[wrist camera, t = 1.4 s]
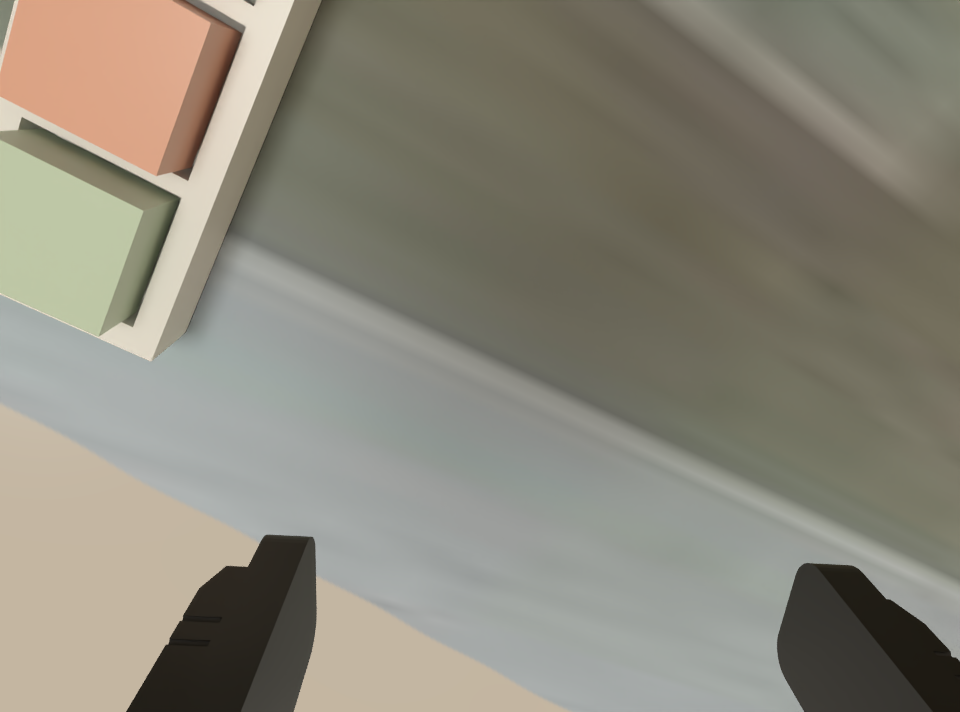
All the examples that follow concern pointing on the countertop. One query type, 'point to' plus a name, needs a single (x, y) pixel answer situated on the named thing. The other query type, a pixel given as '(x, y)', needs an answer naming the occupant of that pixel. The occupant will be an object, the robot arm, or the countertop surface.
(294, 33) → the cream flat tray
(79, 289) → the sage key
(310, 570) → the robot arm
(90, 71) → the terracotta key
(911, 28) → the countertop surface
